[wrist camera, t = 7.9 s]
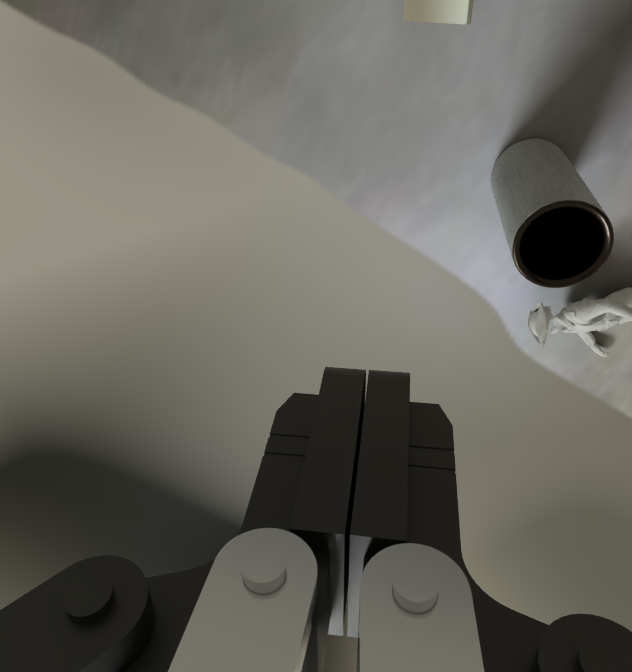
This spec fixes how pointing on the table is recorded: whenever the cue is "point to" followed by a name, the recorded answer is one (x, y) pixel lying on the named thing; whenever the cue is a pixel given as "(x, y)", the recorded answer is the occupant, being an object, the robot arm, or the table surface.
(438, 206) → the table surface
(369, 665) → the robot arm
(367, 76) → the table surface
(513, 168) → the planter
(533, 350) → the table surface
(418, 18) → the lever
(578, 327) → the soldier figure
